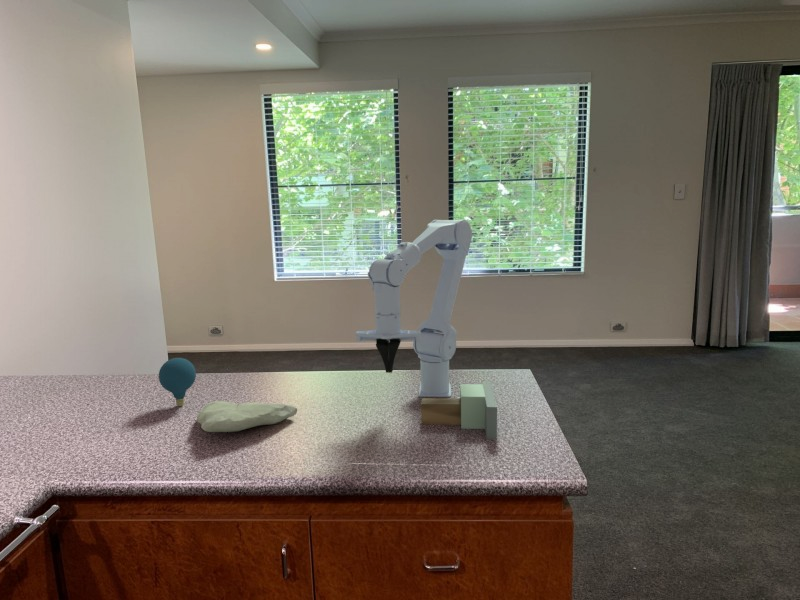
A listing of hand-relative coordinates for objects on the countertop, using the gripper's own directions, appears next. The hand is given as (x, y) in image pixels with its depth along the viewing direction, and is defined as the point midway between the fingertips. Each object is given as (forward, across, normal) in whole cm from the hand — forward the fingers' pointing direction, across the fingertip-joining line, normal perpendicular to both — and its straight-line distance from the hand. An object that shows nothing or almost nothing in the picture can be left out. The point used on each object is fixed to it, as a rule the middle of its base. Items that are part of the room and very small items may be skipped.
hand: (389, 371), depth 122 cm
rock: (+10, -33, -10) cm, 36 cm away
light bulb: (+10, -52, +3) cm, 53 cm away
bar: (+10, +14, -5) cm, 18 cm away
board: (+10, +22, -6) cm, 25 cm away
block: (+10, +18, -5) cm, 21 cm away
